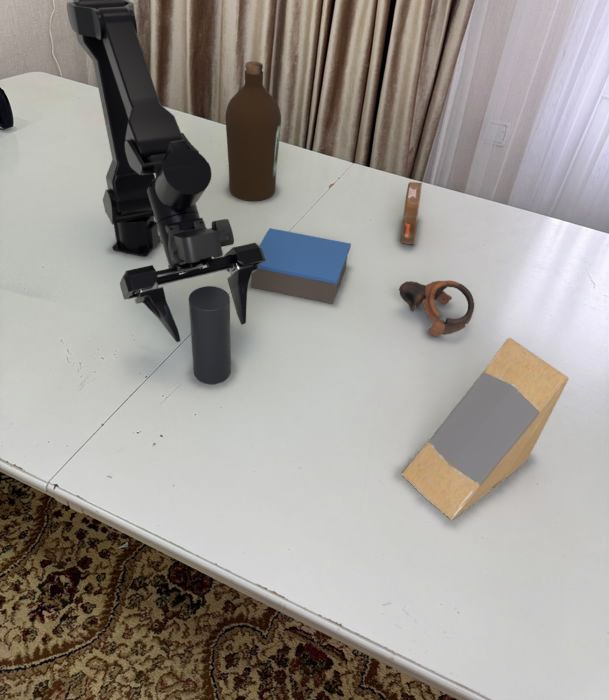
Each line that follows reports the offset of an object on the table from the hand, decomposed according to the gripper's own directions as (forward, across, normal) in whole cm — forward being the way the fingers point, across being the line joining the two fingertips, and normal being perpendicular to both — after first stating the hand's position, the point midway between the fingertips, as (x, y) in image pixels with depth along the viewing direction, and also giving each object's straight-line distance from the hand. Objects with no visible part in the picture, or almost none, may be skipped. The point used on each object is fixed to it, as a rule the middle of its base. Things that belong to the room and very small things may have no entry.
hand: (211, 332), depth 83 cm
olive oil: (-28, +28, +39) cm, 56 cm away
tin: (-10, +49, +21) cm, 54 cm away
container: (-6, +22, +17) cm, 28 cm away
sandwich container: (+26, +22, -14) cm, 37 cm away
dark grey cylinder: (+5, 0, +6) cm, 8 cm away
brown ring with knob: (+7, +37, +4) cm, 37 cm away
